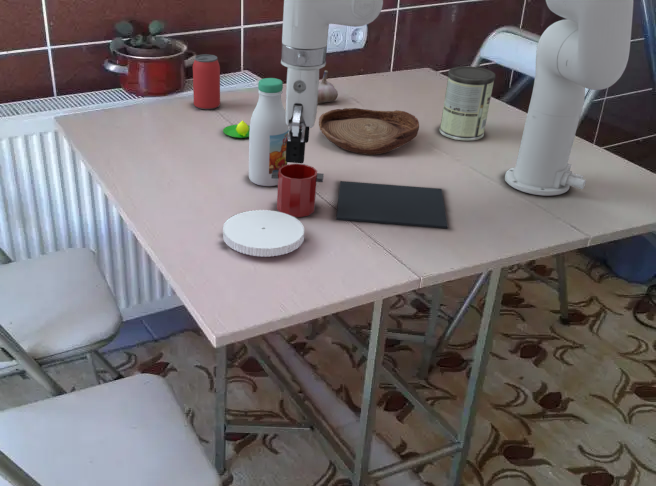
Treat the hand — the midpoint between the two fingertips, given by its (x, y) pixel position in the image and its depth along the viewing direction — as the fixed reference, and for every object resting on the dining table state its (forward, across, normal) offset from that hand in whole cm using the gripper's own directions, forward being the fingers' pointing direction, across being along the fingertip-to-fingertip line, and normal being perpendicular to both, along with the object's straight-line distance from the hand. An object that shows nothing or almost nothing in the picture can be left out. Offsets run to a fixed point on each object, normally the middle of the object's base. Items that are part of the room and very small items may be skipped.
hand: (297, 151), depth 134 cm
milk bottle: (+12, +12, +6) cm, 18 cm away
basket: (+11, +38, -13) cm, 42 cm away
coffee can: (+11, +46, -35) cm, 59 cm away
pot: (+11, 0, 0) cm, 11 cm away
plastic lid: (+12, -13, +4) cm, 18 cm away
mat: (+11, +5, -18) cm, 22 cm away
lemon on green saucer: (+12, +36, +16) cm, 41 cm away
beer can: (+12, +53, +27) cm, 60 cm away
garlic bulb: (+11, +62, -2) cm, 63 cm away
